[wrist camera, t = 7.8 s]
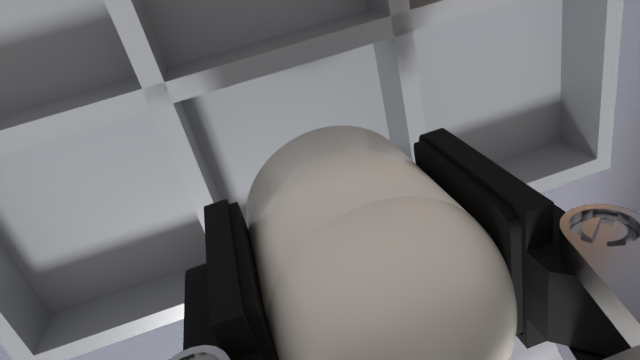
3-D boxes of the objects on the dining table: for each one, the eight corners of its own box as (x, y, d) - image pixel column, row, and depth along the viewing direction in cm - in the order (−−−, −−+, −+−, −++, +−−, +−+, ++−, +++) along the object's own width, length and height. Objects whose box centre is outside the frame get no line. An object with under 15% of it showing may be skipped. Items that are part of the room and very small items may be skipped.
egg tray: (563, 144, 19) (610, 168, 17) (47, 321, 17) (24, 374, 15) (575, -333, 13) (656, -397, 10) (-291, -148, 10) (-426, -178, 8)
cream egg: (423, 247, 13) (575, 437, 8) (274, 301, 12) (331, 540, 7) (401, 101, 11) (589, 231, 6) (220, 159, 10) (248, 358, 5)
